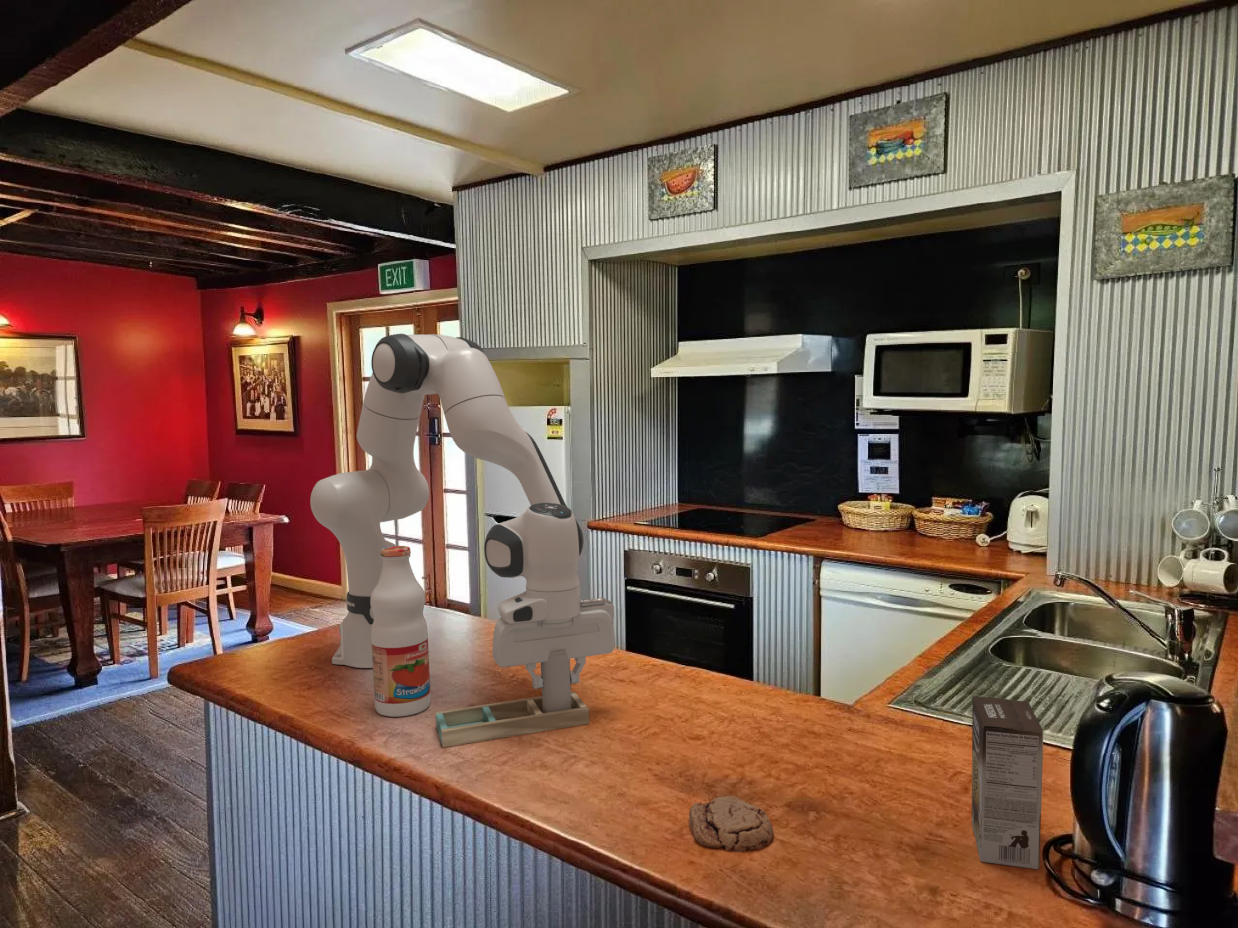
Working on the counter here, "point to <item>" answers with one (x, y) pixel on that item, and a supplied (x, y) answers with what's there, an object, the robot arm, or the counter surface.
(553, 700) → the beverage can
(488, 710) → the rack
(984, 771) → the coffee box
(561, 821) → the counter surface
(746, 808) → the cookie
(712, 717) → the counter surface
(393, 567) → the fruit juice
